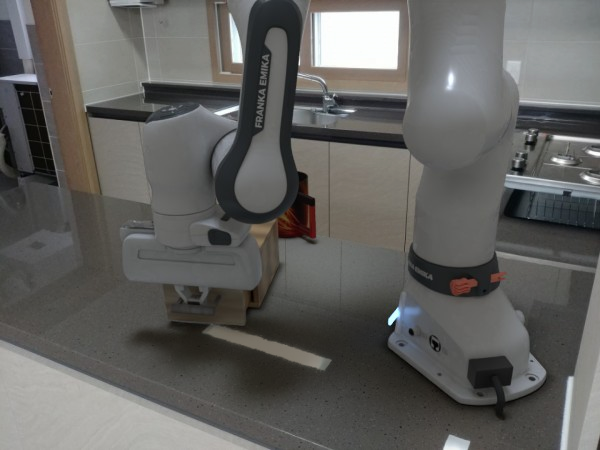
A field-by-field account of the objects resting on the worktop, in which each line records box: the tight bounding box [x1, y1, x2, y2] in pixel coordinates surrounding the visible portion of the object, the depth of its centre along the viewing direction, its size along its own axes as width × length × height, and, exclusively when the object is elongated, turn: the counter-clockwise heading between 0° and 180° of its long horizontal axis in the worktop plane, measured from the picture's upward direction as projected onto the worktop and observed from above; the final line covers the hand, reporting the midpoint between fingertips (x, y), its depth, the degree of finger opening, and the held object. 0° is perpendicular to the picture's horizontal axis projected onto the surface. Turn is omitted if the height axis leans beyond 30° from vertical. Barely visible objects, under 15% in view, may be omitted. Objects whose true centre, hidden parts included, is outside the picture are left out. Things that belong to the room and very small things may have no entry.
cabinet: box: [247, 219, 281, 309], centre depth 95 cm, size 16×14×10 cm
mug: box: [277, 170, 317, 240], centre depth 115 cm, size 10×14×12 cm
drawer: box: [162, 284, 253, 327], centre depth 87 cm, size 19×13×8 cm, turn 170°
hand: (196, 308), depth 80 cm, fingers closed
